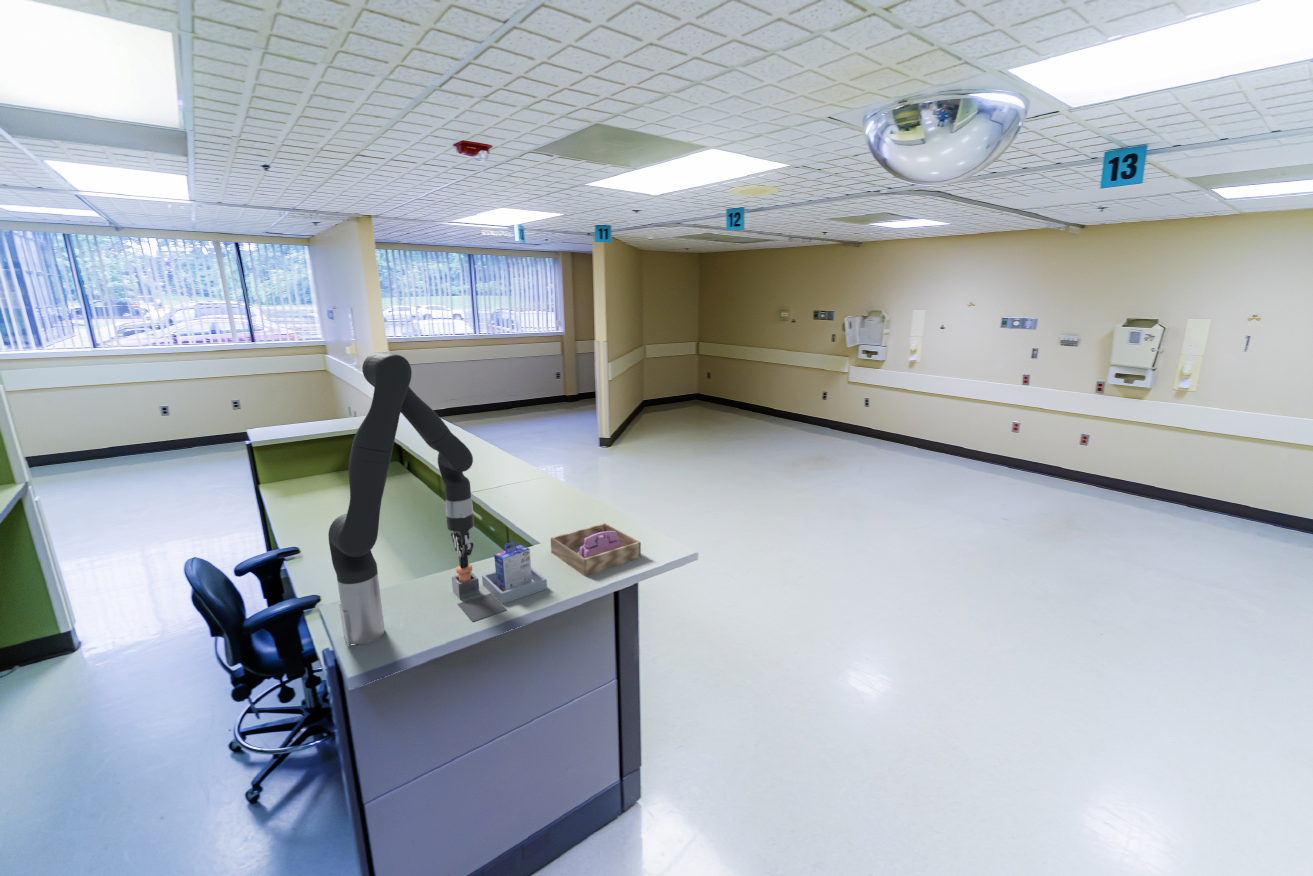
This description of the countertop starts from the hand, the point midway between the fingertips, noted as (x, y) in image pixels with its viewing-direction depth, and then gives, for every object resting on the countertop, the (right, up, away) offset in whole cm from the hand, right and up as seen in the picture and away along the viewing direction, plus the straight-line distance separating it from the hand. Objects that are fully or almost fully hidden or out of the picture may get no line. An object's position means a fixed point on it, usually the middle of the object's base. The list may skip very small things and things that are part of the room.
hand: (464, 566), depth 167 cm
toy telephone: (+37, -4, +24) cm, 45 cm away
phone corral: (+37, -3, +28) cm, 46 cm away
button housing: (0, -8, +2) cm, 9 cm away
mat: (+8, -10, -7) cm, 14 cm away
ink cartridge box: (+14, -8, +5) cm, 17 cm away
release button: (0, -8, +2) cm, 8 cm away
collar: (+14, -8, +5) cm, 17 cm away
